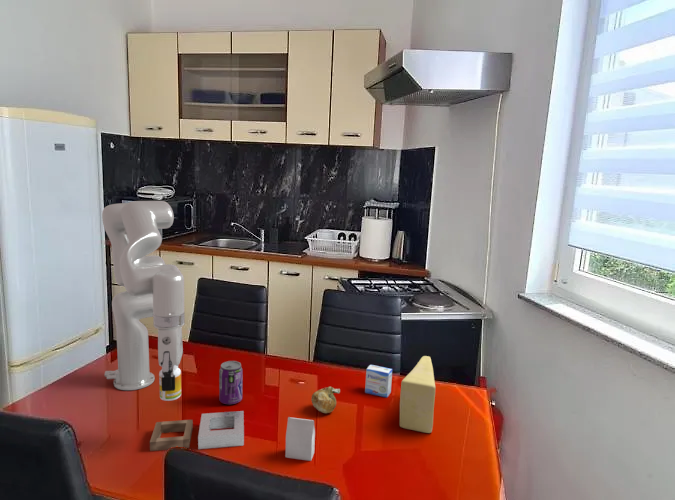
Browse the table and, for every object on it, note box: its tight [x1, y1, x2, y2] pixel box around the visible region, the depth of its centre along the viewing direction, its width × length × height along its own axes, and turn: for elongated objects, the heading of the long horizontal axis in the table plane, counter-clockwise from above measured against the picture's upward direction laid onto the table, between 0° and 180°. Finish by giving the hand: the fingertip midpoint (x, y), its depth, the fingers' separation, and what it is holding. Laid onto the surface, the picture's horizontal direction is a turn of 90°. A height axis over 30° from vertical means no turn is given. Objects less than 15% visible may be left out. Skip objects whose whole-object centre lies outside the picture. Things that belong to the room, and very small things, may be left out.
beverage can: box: [218, 360, 244, 406], centre depth 144 cm, size 7×7×12 cm
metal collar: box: [197, 410, 245, 450], centre depth 126 cm, size 12×12×4 cm
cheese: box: [399, 355, 436, 434], centre depth 141 cm, size 22×10×15 cm, turn 162°
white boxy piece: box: [284, 416, 316, 462], centre depth 118 cm, size 4×7×10 cm, turn 80°
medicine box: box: [364, 364, 393, 399], centre depth 153 cm, size 8×4×9 cm, turn 68°
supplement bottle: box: [158, 362, 182, 402], centre depth 121 cm, size 5×5×10 cm
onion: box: [311, 386, 341, 414], centre depth 141 cm, size 8×8×8 cm
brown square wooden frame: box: [149, 419, 194, 452], centre depth 123 cm, size 10×10×2 cm
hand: (170, 383), depth 121 cm, fingers closed on supplement bottle, 5 cm apart
